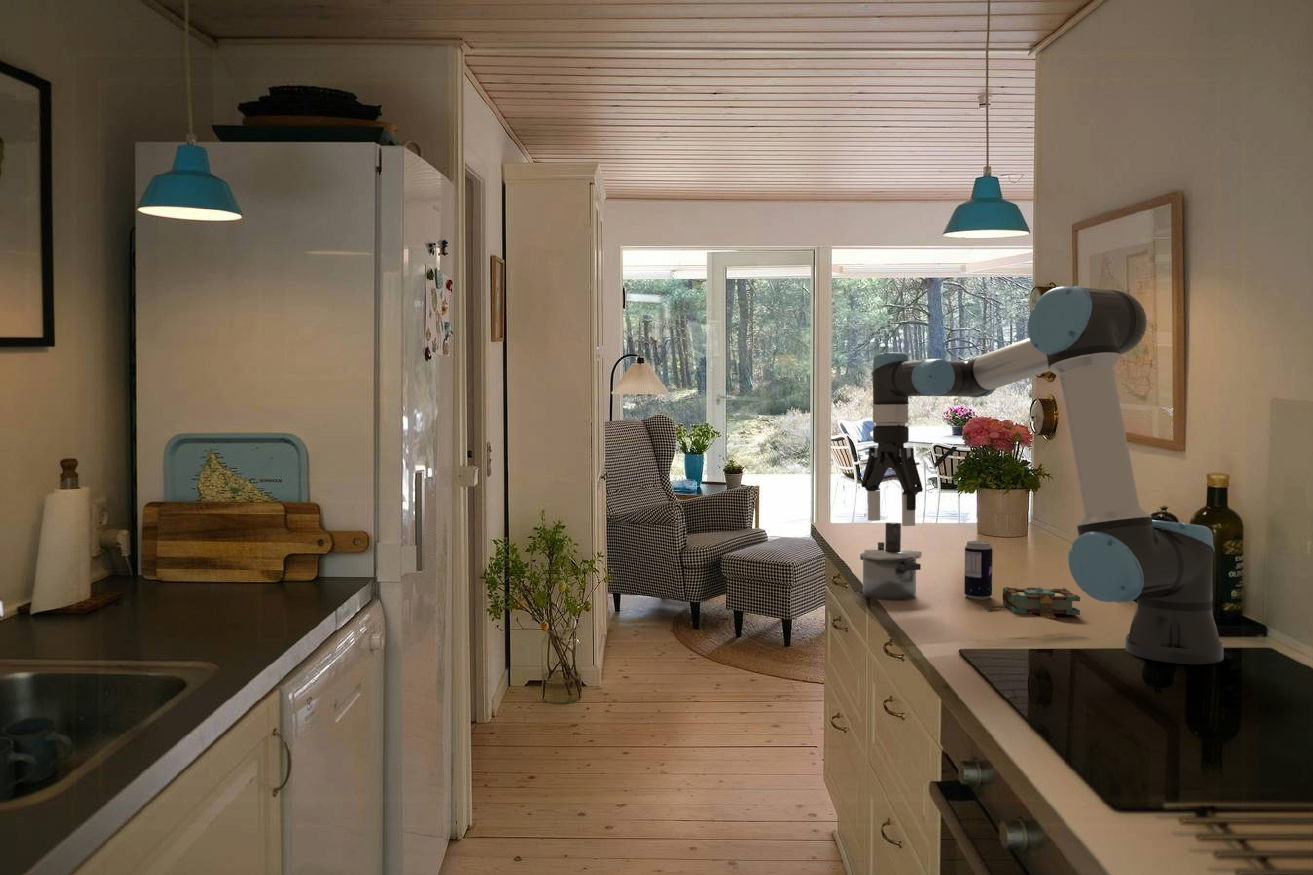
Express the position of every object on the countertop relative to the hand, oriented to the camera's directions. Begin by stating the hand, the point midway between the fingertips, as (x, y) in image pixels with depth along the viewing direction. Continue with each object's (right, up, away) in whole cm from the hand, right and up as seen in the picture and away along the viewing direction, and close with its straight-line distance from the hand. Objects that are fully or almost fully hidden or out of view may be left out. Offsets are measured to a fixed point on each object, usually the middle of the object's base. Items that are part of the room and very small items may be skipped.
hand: (890, 523), depth 220 cm
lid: (0, -7, -1) cm, 7 cm away
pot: (0, -16, +1) cm, 16 cm away
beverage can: (+18, -16, -1) cm, 25 cm away
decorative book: (+25, -17, -14) cm, 33 cm away
